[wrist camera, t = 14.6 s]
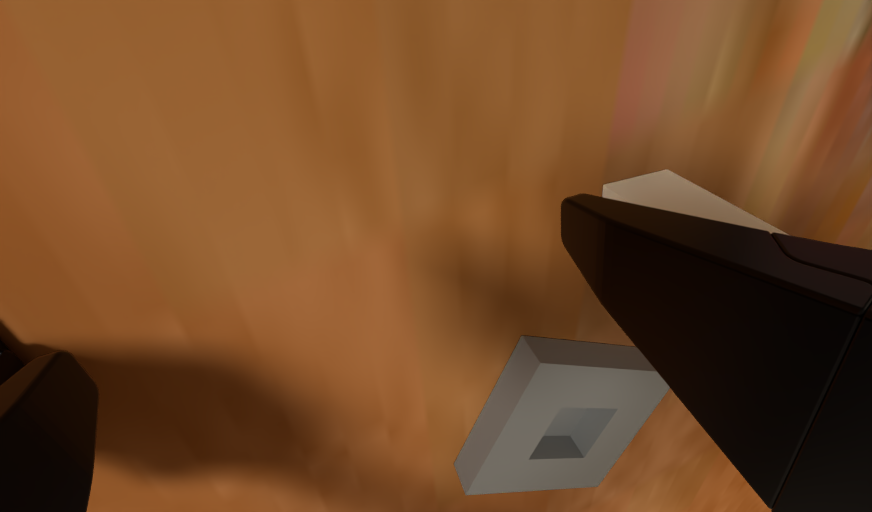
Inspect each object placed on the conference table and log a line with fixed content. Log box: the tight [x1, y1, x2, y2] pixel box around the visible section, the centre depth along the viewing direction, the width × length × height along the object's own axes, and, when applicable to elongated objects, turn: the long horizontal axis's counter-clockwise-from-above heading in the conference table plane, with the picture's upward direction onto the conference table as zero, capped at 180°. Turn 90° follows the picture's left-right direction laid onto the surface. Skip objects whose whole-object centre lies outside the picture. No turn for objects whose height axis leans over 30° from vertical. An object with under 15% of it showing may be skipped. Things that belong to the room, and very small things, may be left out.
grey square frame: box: [454, 336, 670, 495], centre depth 34 cm, size 12×12×2 cm
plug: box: [602, 169, 789, 235], centre depth 23 cm, size 4×4×11 cm
